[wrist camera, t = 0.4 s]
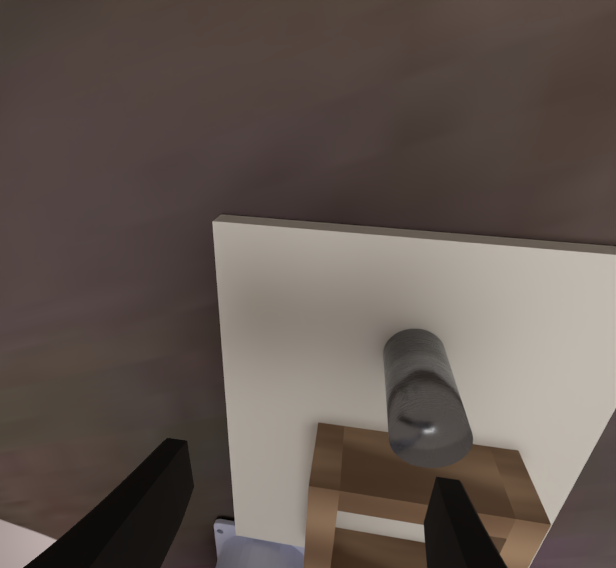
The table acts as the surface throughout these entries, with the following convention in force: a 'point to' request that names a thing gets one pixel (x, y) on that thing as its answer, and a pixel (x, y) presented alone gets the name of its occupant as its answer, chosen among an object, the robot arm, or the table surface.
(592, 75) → the table surface
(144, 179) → the table surface
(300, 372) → the post board
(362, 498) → the square collar
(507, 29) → the table surface
